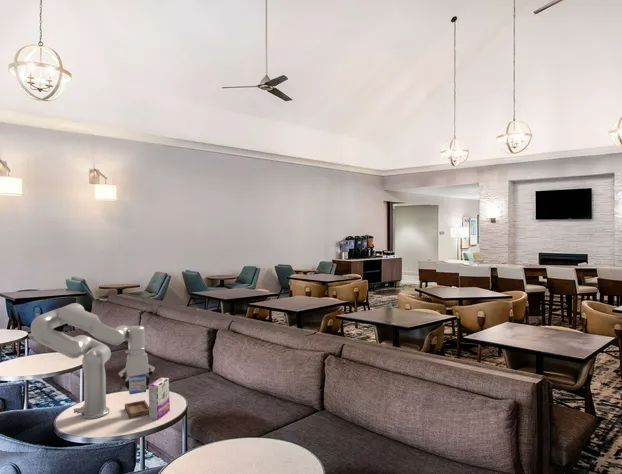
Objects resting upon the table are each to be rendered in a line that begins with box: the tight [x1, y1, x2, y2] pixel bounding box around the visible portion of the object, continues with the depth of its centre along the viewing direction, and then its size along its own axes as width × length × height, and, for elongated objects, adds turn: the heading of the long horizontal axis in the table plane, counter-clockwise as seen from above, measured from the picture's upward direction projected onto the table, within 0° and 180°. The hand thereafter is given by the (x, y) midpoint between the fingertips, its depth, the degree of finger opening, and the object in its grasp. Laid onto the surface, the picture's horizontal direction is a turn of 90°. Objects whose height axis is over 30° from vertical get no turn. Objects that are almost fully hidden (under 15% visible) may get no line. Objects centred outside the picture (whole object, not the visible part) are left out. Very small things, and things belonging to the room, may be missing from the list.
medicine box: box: [128, 374, 147, 395], centre depth 223 cm, size 8×4×9 cm, turn 115°
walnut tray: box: [124, 399, 149, 420], centre depth 223 cm, size 10×14×2 cm
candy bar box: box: [147, 377, 171, 421], centre depth 219 cm, size 11×5×16 cm, turn 168°
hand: (137, 386), depth 223 cm, fingers closed on medicine box, 8 cm apart
